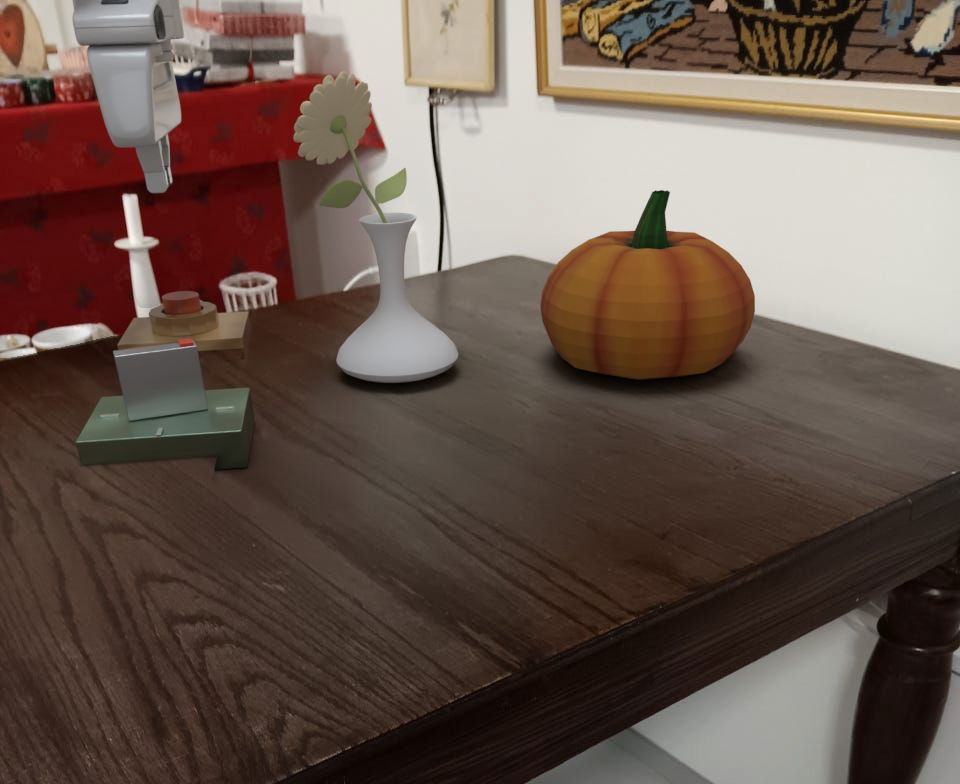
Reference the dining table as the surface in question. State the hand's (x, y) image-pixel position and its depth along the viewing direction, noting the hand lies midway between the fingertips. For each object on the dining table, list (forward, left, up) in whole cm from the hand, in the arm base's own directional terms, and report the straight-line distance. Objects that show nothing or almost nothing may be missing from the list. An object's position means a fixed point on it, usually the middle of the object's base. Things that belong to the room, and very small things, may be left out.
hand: (161, 189), depth 94 cm
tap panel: (+2, -28, -15) cm, 32 cm away
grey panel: (+2, -28, -12) cm, 31 cm away
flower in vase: (+20, -13, -15) cm, 28 cm away
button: (0, 0, -12) cm, 12 cm away
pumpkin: (+44, -14, -15) cm, 49 cm away
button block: (0, 0, -15) cm, 15 cm away
